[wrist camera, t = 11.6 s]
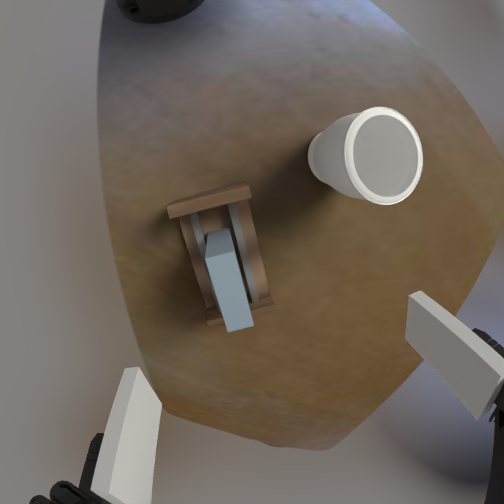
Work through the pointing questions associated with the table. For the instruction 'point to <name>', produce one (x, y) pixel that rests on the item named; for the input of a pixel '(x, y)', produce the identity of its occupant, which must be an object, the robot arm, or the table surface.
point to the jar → (369, 156)
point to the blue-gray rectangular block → (227, 280)
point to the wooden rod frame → (243, 236)
